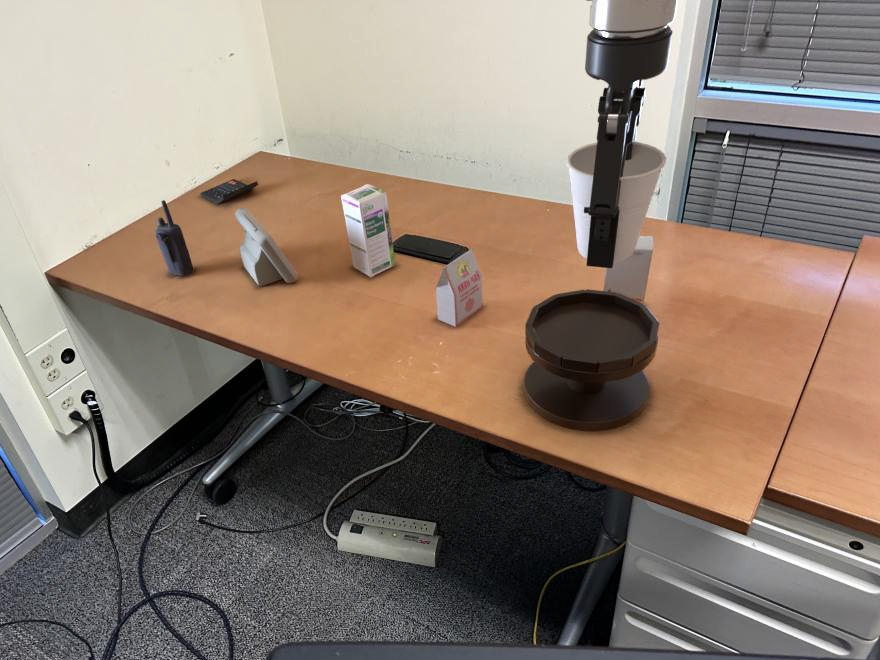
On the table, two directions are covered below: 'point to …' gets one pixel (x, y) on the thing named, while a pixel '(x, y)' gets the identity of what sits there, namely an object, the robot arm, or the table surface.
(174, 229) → the two-way radio
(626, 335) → the cup stand
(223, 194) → the calculator
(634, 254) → the cosmetic box
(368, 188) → the syrup box
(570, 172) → the cup
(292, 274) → the digital clock
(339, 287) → the table surface
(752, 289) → the table surface
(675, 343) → the table surface
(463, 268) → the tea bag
